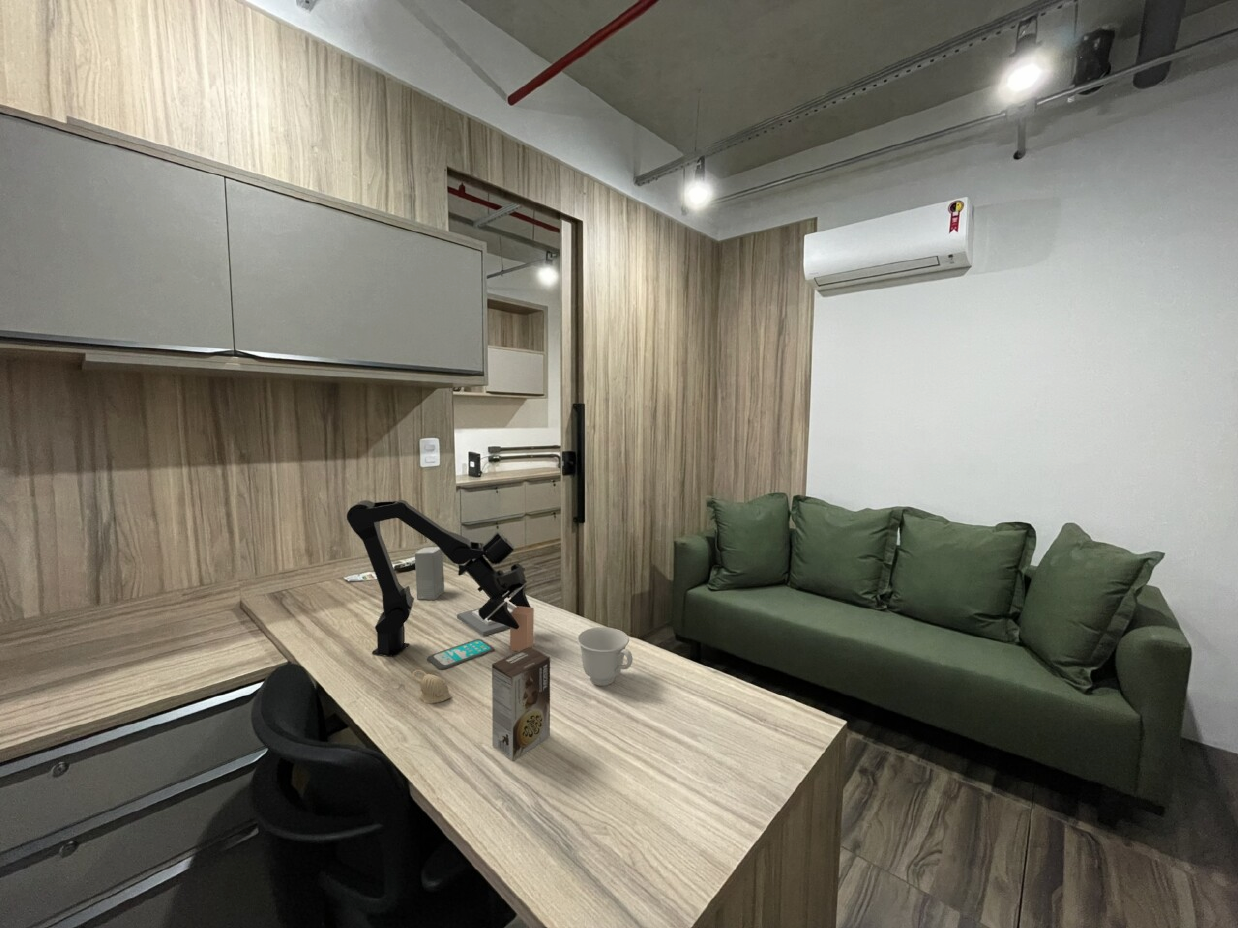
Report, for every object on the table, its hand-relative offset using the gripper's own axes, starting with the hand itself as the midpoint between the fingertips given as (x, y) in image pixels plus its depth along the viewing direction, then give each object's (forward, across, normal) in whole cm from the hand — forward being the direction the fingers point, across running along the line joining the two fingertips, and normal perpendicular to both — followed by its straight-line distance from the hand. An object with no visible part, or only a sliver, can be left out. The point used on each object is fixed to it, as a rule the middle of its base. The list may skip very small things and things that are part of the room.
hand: (525, 620), depth 127 cm
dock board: (-6, +14, +16) cm, 22 cm away
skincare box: (-26, +26, +36) cm, 52 cm away
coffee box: (+15, -35, -4) cm, 38 cm away
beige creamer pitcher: (-2, -26, +13) cm, 29 cm away
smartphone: (-4, -8, +15) cm, 18 cm away
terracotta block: (+4, 0, +6) cm, 7 cm away
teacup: (+23, -11, -12) cm, 28 cm away
